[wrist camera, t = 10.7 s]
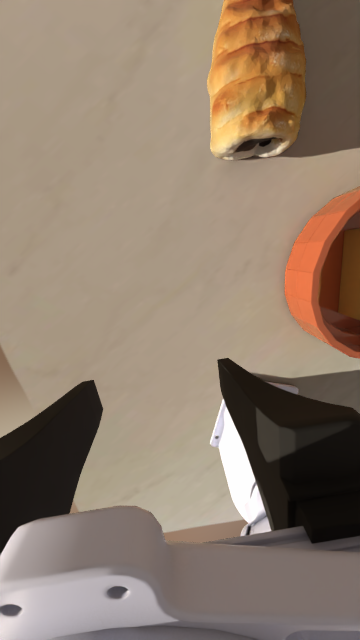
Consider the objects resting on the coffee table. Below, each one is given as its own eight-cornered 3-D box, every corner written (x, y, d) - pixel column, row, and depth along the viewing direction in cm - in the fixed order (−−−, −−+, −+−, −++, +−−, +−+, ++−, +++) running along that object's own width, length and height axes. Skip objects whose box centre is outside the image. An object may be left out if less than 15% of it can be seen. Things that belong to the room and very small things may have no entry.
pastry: (197, 5, 14) (208, -79, 11) (296, -5, 14) (339, -91, 11) (208, 167, 17) (219, 145, 14) (290, 158, 17) (323, 133, 14)
